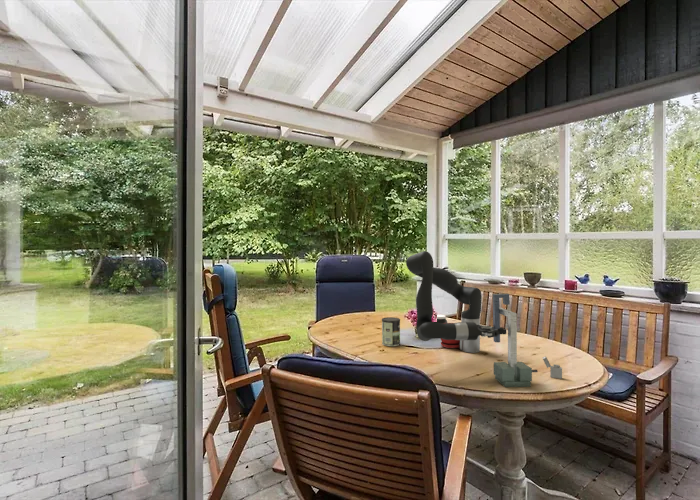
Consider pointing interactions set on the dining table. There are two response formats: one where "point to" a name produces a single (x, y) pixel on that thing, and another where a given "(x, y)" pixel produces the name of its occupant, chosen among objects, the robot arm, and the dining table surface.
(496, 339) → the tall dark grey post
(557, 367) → the lighter
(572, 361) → the dining table surface
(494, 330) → the robot arm
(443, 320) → the spread jar
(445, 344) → the plant pot
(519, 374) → the grey tall bent post
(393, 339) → the coffee can
